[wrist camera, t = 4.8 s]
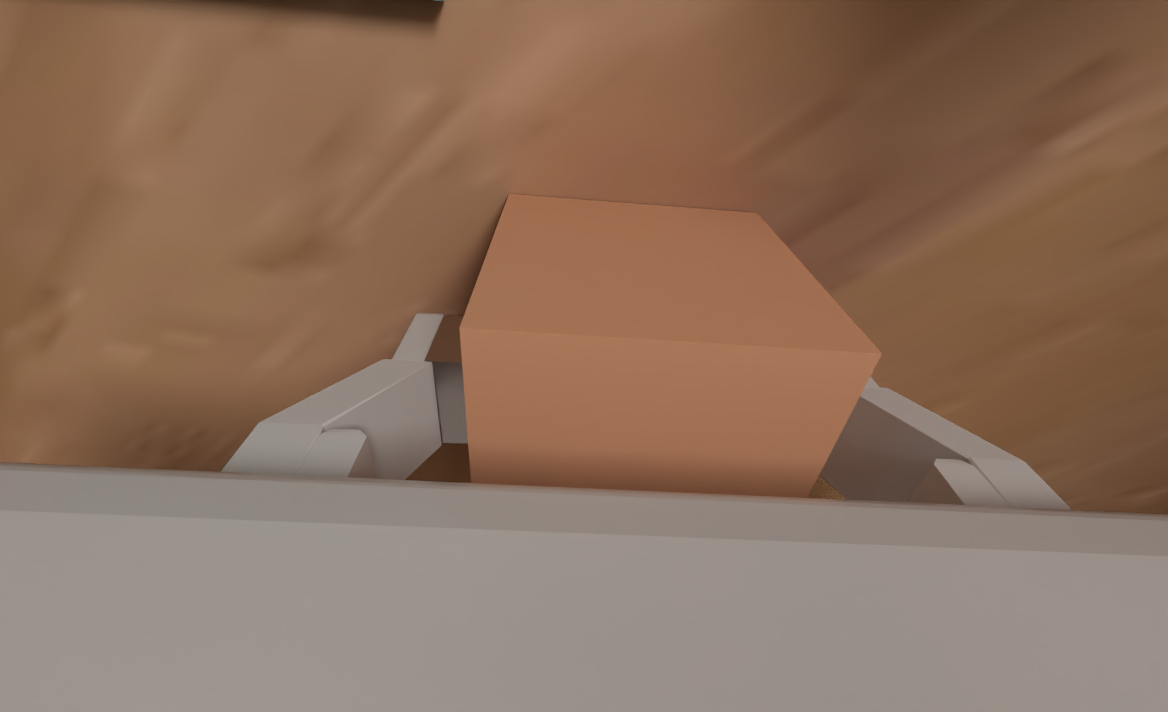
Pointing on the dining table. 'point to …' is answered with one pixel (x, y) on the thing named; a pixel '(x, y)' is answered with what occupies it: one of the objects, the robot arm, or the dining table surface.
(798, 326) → the cube
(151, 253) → the dining table surface
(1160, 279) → the dining table surface
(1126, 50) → the dining table surface
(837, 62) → the dining table surface
